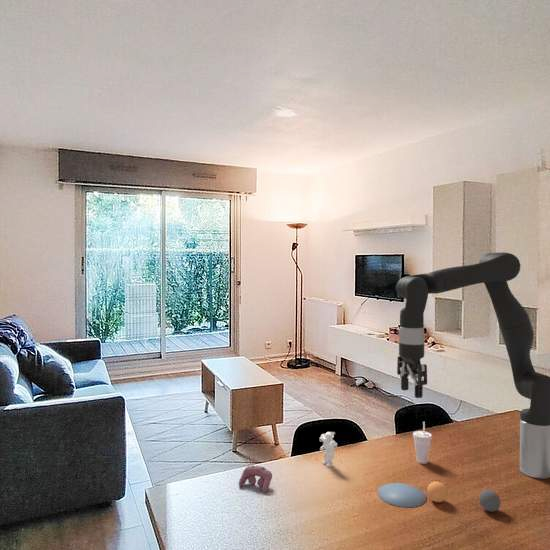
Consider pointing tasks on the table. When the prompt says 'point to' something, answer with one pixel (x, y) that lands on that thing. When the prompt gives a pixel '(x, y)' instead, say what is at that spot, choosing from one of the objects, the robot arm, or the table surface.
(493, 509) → the grey ball
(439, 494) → the object ball
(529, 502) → the table surface
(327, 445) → the white humanoid figurine
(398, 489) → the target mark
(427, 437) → the smoothie
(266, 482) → the red animal figurine
